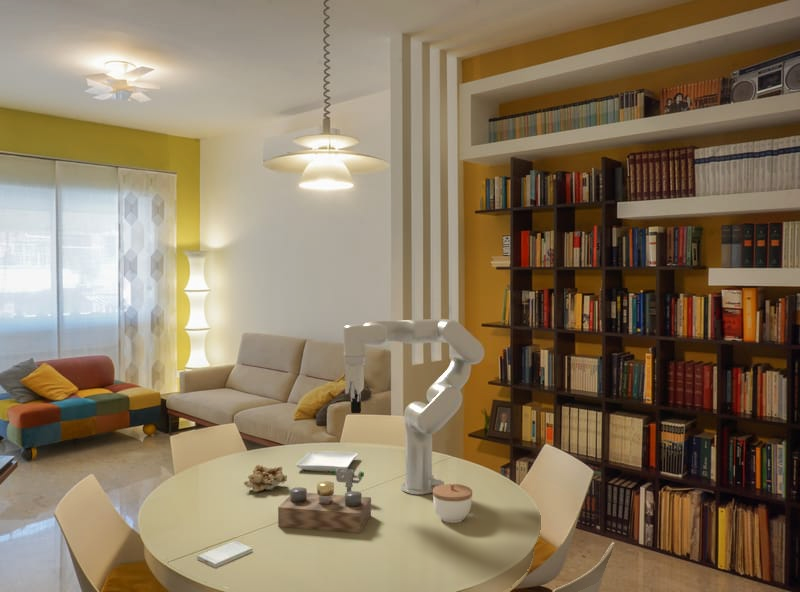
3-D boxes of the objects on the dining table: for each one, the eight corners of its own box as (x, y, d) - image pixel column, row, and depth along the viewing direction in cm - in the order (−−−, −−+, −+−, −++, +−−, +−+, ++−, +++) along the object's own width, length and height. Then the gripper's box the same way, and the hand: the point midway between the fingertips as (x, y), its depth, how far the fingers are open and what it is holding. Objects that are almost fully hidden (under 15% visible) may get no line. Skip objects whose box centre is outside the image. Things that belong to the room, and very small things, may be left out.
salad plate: (310, 457, 269) (310, 449, 269) (358, 459, 266) (358, 451, 266) (295, 473, 248) (294, 464, 248) (347, 475, 245) (347, 466, 245)
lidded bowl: (445, 529, 193) (446, 493, 192) (425, 515, 204) (425, 481, 203) (480, 521, 199) (480, 487, 198) (458, 508, 210) (458, 475, 209)
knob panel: (370, 515, 203) (370, 497, 203) (359, 533, 190) (359, 513, 189) (294, 509, 208) (294, 491, 208) (278, 526, 195) (278, 507, 194)
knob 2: (363, 516, 199) (363, 491, 199) (359, 522, 194) (359, 497, 194) (347, 515, 200) (347, 490, 200) (342, 521, 195) (342, 496, 195)
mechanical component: (362, 501, 216) (362, 473, 215) (333, 499, 218) (333, 471, 217) (364, 498, 219) (364, 470, 218) (336, 496, 221) (336, 468, 220)
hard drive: (234, 540, 182) (196, 554, 172) (252, 547, 177) (215, 563, 167) (234, 545, 182) (196, 560, 172) (252, 553, 177) (215, 569, 167)
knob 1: (309, 512, 203) (308, 487, 202) (303, 518, 198) (303, 493, 197) (293, 511, 204) (293, 486, 203) (287, 517, 199) (287, 492, 198)
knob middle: (335, 506, 201) (335, 481, 201) (331, 512, 196) (330, 487, 195) (320, 505, 202) (320, 480, 202) (315, 511, 197) (314, 486, 196)
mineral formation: (255, 481, 237) (294, 480, 235) (242, 499, 224) (283, 498, 222) (252, 461, 236) (291, 460, 234) (239, 478, 223) (280, 477, 221)
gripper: (349, 357, 226) (350, 407, 227) (339, 363, 212) (340, 417, 212) (369, 357, 225) (370, 408, 226) (361, 363, 211) (362, 417, 211)
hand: (356, 412), depth 219 cm, fingers closed
